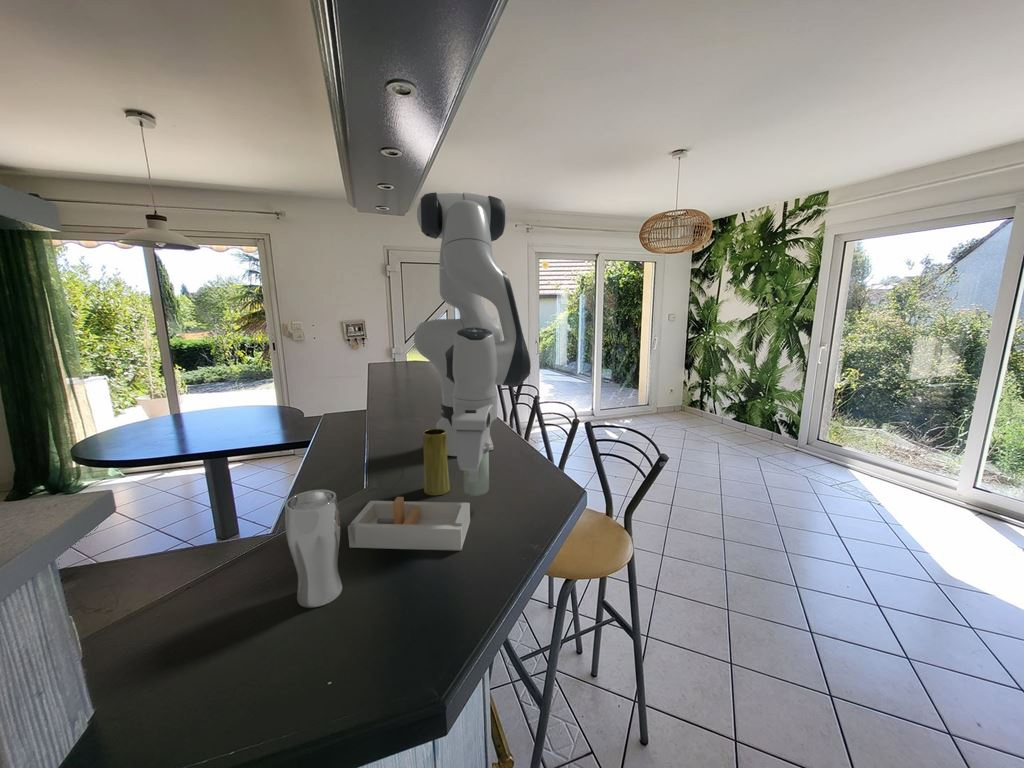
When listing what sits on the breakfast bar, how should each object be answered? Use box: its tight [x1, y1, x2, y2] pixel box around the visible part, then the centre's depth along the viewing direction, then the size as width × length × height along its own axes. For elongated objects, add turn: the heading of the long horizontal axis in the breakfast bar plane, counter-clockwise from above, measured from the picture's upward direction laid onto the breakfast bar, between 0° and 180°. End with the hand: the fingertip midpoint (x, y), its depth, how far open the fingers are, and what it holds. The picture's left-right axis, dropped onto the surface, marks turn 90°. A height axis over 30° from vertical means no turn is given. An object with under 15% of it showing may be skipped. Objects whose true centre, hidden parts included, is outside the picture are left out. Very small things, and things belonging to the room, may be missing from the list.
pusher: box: [377, 496, 420, 525], centre depth 76 cm, size 7×7×6 cm
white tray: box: [347, 500, 471, 551], centre depth 77 cm, size 10×20×4 cm, turn 87°
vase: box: [422, 427, 451, 497], centre depth 94 cm, size 6×6×14 cm
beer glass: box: [284, 489, 343, 609], centre depth 59 cm, size 7×7×15 cm
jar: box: [463, 443, 490, 496], centre depth 85 cm, size 5×5×10 cm
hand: (476, 473), depth 85 cm, fingers closed on jar, 5 cm apart
